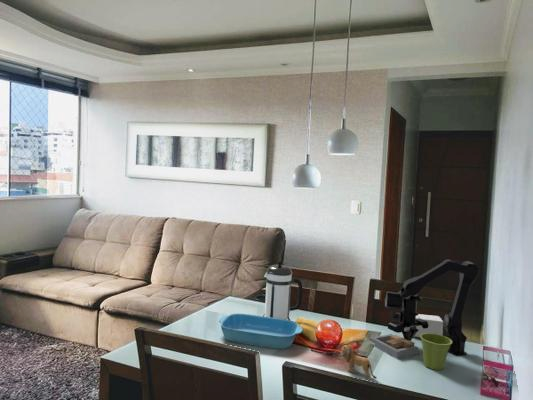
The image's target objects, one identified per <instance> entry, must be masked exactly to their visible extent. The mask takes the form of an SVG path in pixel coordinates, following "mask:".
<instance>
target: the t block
mask: <svg viewBox="0 0 533 400" xmlns="http://www.w3.org/2000/svg"><path fill="white" fill-rule="evenodd" d="M392 335H393V336H390V340H389V341H387V342H386V343H385V344H387V345H389V346H391V347H393V348H395V349H402V348H408V347H413V346H415V344H416V343H415V342H414V341H412V340H411V341H409V340H407V339H404V337H402V336H399V335H397V334H392Z"/></svg>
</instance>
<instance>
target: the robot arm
mask: <svg viewBox="0 0 533 400" xmlns="http://www.w3.org/2000/svg"><path fill="white" fill-rule="evenodd" d="M450 271H453V272H456V273H459V275H458V276H459V283H458V286H457V289H456V294H455V296H454V299H453V304H452V306H451V311H450V313H449V314H447V313H445V315H444V319H443V320H442V321H443V329H445V331H446V332H447V334H448V336H447V338H449V339H451V340H452V344H450V348H449V349H448V353H449V354H452V355H454V356H456V357H457V356H463V355H467V352H466V351H465V349H466V348H465V346H466V341H467V339H468V337H467V336H466V335H465V333H464V332H463V331H462V329H463V313H464V310H465V305H466V303H467V299H468V297H469V296H468V295H469V293H470V289H471V287H472V284H473V283H474V282H475V280H476V279H477V277H478V274H479V271H480V270H479V268H478V266H477V265H476V264H475V263H473V262H471V261H469V260H466V261H463V262H462V261H457V260H452V259H451V260H450V259H445V260H443V261H442V262H441V263H439V264H437V265H436V266H434V267H432V268H431V269H429V270H428V271H425V272H424V273H422V274H420V275H419V276H414V277H411V278H409V279H407V280H405V281H403V286H402V287H401V288H400V289H399V290H398V292H393V291H392V292H391V291H386V296H385V298H384V306H385V308H387V309H388V308H391V309H399V310H400V308H401V307H402V309H401V310H400V311H399V312H396V311H390V312H389V316H388V317H389V319H390V320H392V321H390V322H389V323H387V329H389V330H390V331H392V332H393V333H397V334H399V333H401V334H402V336H403V337H402V338H404V339H407V340H409V341H412V340H413V338H415V337H414V335H415V334H416V333H417V332H418V331H419V330H418V329H416V326H421V325H422V328H423V329H425V328H428V322H427V321H425V320H423V319H420V318H417V319H416V316H417V315H418V314H419V312H417V308H418V307H417V304H418V302H423V298H422V297H421V296H420V295H419V293H420V292H422V290H423V289H424V288H425V287H426V285H428V284H429V283H431V282H433V281H434V280H436V279H438V278H440V277H441V276H443V275H445V274H447V273H448V272H450Z"/></svg>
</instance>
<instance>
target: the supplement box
mask: <svg viewBox="0 0 533 400" xmlns="http://www.w3.org/2000/svg"><path fill="white" fill-rule="evenodd" d="M417 318H420V319H423V320H425V321H427V322H428V328H425V329H423V328H422V325H421V326H416V329H418V330H419V331H418V332H417V333H416V334H415V335H414V337H413V338H421V337H420V335H421V334H424V333H433V334H439V335H442V336H443V332H444V331H443V330H444V324H443V321H444V320H442V318H441V317H440V316H439V315H432V314H431V315H429V314H422V313H421V314H420V313H418V315H417V316H416V319H417Z"/></svg>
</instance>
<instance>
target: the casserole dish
mask: <svg viewBox="0 0 533 400" xmlns="http://www.w3.org/2000/svg"><path fill="white" fill-rule="evenodd" d="M218 322H219V323H220V327H221V332H222V335H223V337H224V338H225V339H226V340H227V341H228V342H232V343H238V344H243V345H249V346H256V347H261V348H270V349H275V350H276V349H277V350H278V349H279V350H284V349H287V348H289V347H290V346H291V345H292V344H293V343H294V340H295V338H296V336H297V335H300V334H301V333H302V332H303V331H304V330H303V327H301V325H300V324H299V323H298V322H297V321H294V320H291V319H290V320H288V319H287V320H284V319H278V318H271V317H265V315H264V316H263V315H256V314H250V313H232V314H229V315H225V316H222V317H220V318H219V320H218Z"/></svg>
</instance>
